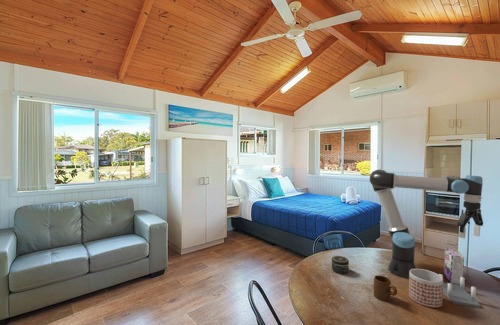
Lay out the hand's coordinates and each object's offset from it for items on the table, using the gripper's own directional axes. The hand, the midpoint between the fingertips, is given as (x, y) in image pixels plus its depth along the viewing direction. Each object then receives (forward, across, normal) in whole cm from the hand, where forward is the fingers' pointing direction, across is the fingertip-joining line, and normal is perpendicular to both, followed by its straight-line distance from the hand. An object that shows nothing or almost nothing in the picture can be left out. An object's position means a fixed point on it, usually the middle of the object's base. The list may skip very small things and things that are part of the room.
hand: (469, 236), depth 145 cm
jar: (+26, -68, +30) cm, 79 cm away
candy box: (+25, -12, 0) cm, 27 cm away
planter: (+25, -48, -9) cm, 55 cm away
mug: (+26, -67, -2) cm, 72 cm away
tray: (+24, -28, -11) cm, 38 cm away
